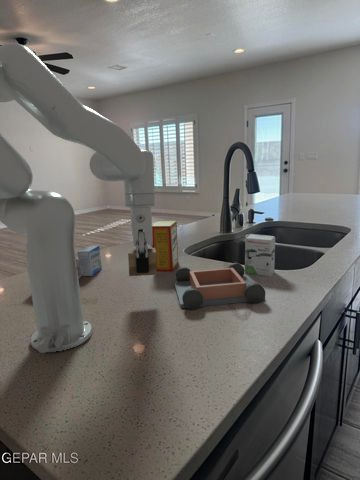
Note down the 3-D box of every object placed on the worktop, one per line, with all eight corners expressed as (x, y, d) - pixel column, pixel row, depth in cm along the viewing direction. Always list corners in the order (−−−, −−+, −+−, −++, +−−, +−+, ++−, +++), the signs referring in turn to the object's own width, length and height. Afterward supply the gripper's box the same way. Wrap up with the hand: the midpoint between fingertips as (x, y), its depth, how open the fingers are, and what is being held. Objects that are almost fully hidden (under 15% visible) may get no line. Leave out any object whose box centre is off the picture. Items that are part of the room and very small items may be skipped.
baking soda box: (161, 263, 122) (158, 219, 118) (178, 263, 121) (176, 219, 117) (153, 271, 113) (150, 225, 109) (172, 271, 112) (170, 225, 108)
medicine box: (92, 276, 111) (89, 251, 109) (80, 276, 112) (76, 251, 110) (102, 269, 119) (99, 245, 117) (90, 268, 120) (87, 245, 118)
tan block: (156, 274, 86) (155, 248, 85) (129, 276, 86) (127, 249, 84) (155, 269, 91) (154, 244, 90) (129, 270, 91) (128, 245, 89)
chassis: (267, 302, 85) (267, 283, 84) (181, 310, 83) (180, 291, 82) (244, 277, 103) (244, 261, 102) (174, 283, 101) (173, 267, 100)
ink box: (244, 273, 107) (243, 237, 105) (249, 268, 112) (249, 233, 109) (271, 276, 103) (271, 239, 100) (275, 271, 107) (275, 235, 105)
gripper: (156, 203, 77) (158, 278, 80) (153, 197, 93) (155, 260, 97) (123, 203, 76) (127, 280, 80) (126, 198, 93) (129, 261, 96)
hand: (142, 268), depth 88 cm, fingers closed on tan block, 5 cm apart
